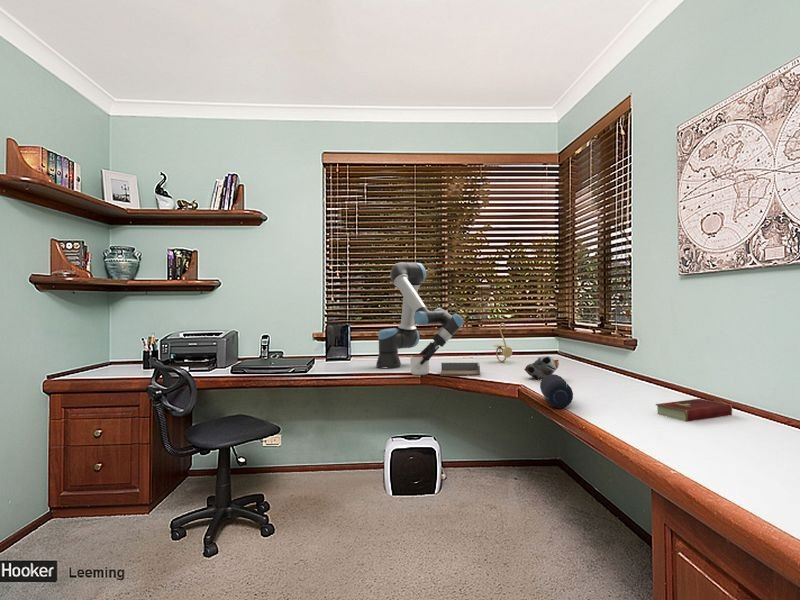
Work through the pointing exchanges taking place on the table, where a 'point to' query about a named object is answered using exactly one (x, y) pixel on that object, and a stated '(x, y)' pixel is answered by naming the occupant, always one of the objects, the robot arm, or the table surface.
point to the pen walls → (460, 366)
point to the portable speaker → (556, 391)
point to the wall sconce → (507, 350)
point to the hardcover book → (694, 409)
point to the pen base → (458, 372)
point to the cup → (423, 369)
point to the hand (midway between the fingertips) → (414, 367)
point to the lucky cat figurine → (542, 367)
